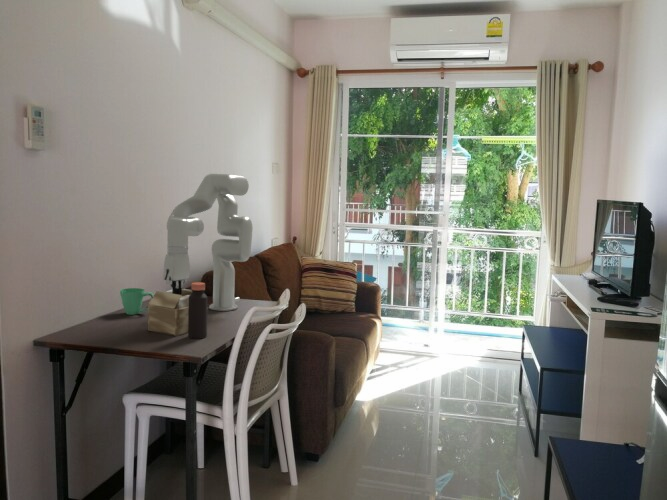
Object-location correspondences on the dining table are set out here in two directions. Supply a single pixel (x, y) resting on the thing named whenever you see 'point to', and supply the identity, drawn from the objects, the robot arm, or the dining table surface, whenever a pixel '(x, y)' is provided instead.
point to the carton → (169, 318)
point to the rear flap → (186, 292)
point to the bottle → (197, 311)
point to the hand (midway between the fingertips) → (177, 297)
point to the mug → (133, 300)
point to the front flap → (165, 299)
